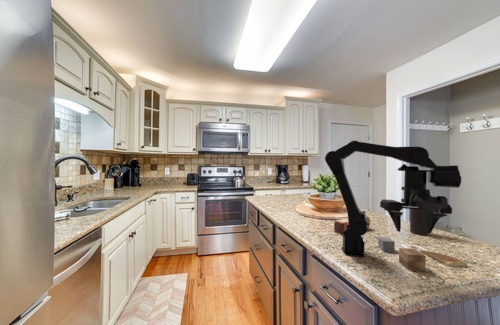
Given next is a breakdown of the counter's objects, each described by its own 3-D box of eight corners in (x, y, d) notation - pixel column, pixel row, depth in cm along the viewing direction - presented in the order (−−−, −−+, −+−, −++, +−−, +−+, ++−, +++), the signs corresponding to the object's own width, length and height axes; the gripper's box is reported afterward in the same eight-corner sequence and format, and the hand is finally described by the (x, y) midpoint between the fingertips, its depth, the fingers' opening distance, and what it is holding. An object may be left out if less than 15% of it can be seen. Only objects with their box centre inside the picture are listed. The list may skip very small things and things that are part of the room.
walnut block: (407, 269, 64) (407, 254, 64) (399, 262, 69) (399, 247, 69) (425, 271, 63) (425, 255, 63) (415, 263, 68) (415, 249, 68)
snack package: (344, 236, 94) (344, 221, 94) (332, 231, 100) (332, 218, 100) (370, 229, 105) (370, 216, 105) (358, 225, 111) (358, 213, 111)
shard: (419, 253, 78) (419, 248, 78) (439, 253, 77) (440, 249, 77) (446, 267, 67) (446, 262, 67) (470, 268, 67) (470, 263, 67)
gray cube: (382, 251, 78) (383, 241, 78) (378, 247, 82) (378, 237, 82) (394, 252, 77) (394, 241, 77) (389, 248, 81) (389, 238, 81)
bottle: (421, 231, 102) (421, 191, 102) (431, 236, 95) (432, 193, 96) (406, 230, 103) (407, 191, 103) (416, 235, 96) (416, 193, 96)
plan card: (407, 250, 78) (407, 248, 78) (400, 245, 83) (400, 243, 83) (428, 252, 77) (428, 250, 77) (419, 247, 82) (419, 245, 82)
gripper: (399, 186, 60) (398, 239, 60) (470, 189, 58) (468, 244, 58) (379, 183, 71) (378, 227, 71) (438, 185, 69) (436, 230, 69)
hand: (413, 232), depth 67 cm, fingers open, 9 cm apart
